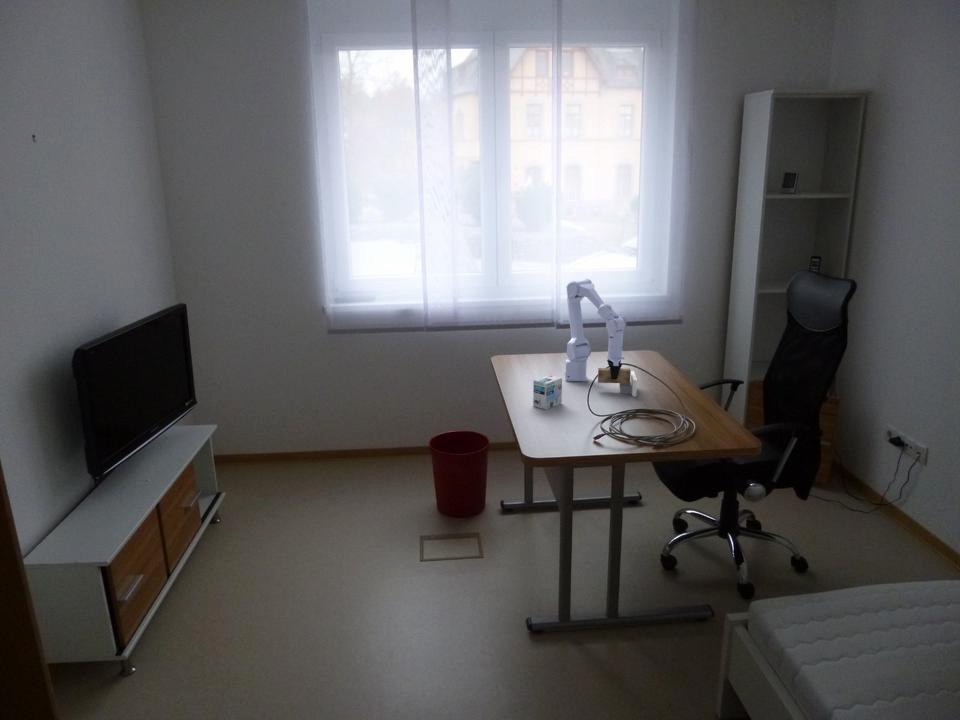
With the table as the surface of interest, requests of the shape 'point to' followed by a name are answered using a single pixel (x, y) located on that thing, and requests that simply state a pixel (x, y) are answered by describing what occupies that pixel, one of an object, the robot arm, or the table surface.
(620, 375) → the rail
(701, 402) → the table surface
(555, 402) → the light bulb box
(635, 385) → the bracket
